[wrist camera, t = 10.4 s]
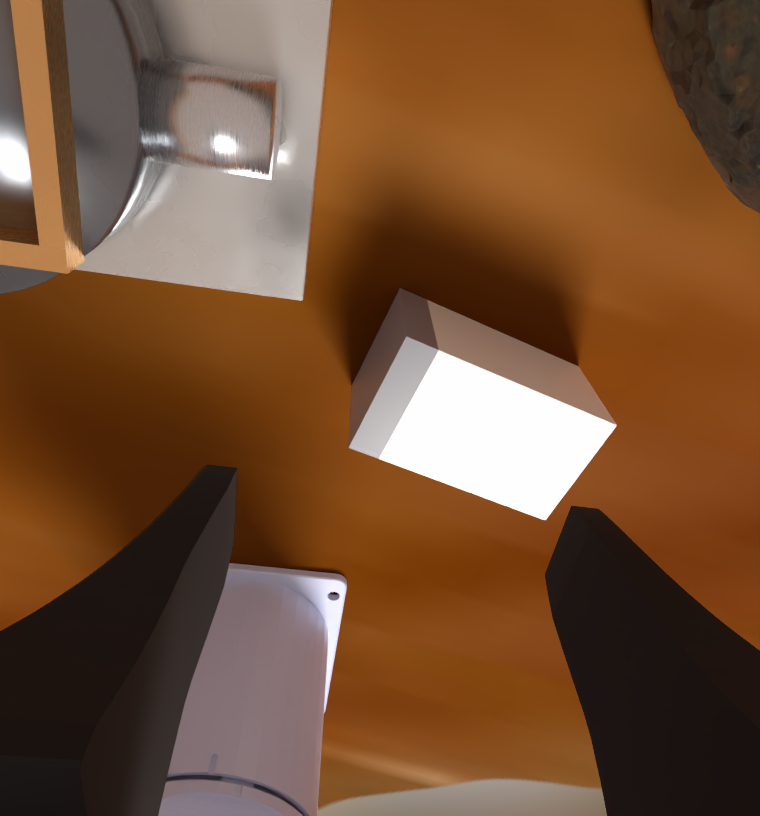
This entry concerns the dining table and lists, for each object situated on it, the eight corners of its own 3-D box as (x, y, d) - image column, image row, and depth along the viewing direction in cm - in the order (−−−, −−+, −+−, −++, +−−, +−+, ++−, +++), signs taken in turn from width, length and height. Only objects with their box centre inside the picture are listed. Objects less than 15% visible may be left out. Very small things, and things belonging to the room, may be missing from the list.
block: (545, 520, 21) (348, 447, 19) (519, 451, 24) (351, 385, 23) (616, 425, 19) (406, 336, 17) (578, 365, 22) (400, 287, 21)
